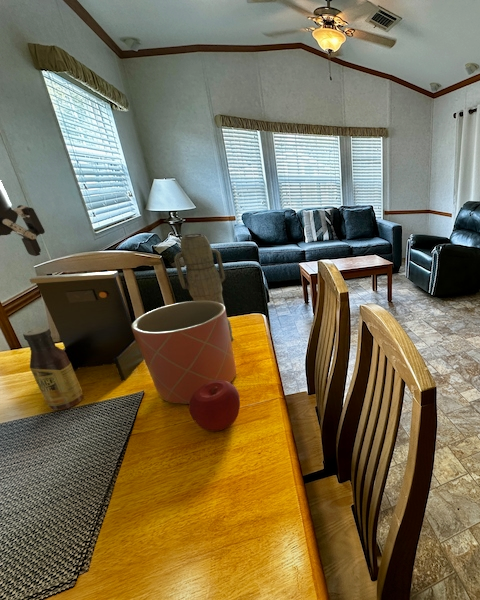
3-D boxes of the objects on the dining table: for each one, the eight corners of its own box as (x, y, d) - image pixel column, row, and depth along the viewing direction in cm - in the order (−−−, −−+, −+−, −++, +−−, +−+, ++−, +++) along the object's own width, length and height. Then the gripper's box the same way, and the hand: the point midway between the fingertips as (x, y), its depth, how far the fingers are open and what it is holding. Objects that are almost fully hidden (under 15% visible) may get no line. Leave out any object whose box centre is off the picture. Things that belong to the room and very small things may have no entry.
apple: (193, 446, 67) (180, 407, 63) (200, 415, 75) (189, 379, 71) (243, 433, 70) (234, 395, 66) (245, 405, 78) (237, 370, 74)
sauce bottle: (42, 409, 77) (4, 335, 70) (73, 393, 83) (40, 322, 75) (63, 414, 76) (26, 338, 68) (92, 397, 81) (61, 325, 74)
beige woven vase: (243, 339, 109) (221, 233, 95) (205, 353, 100) (175, 240, 87) (231, 331, 114) (208, 230, 101) (194, 344, 105) (164, 236, 92)
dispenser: (76, 366, 94) (36, 276, 84) (147, 357, 98) (117, 271, 88) (46, 390, 84) (-4, 291, 73) (127, 380, 88) (91, 284, 78)
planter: (196, 416, 75) (172, 339, 67) (137, 398, 81) (110, 326, 73) (255, 370, 92) (242, 305, 84) (203, 359, 97) (186, 296, 90)
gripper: (1, 173, 66) (34, 246, 75) (-105, 187, 54) (-51, 272, 63) (33, 181, 66) (63, 254, 74) (-68, 196, 54) (-18, 282, 62)
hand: (11, 262), depth 68 cm, fingers open, 8 cm apart
